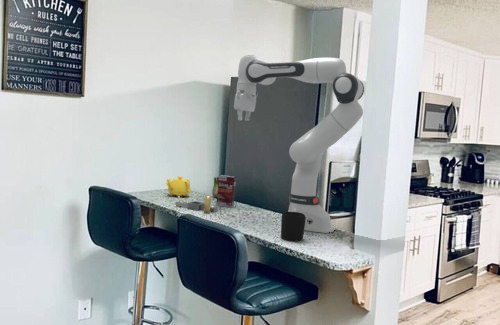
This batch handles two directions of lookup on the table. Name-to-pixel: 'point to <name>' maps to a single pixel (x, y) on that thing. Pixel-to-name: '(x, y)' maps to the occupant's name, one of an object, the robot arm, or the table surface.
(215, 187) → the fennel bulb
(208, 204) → the pin
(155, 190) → the table surface
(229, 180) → the supplement box
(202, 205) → the chain joint
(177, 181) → the teapot
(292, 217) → the pen holder
